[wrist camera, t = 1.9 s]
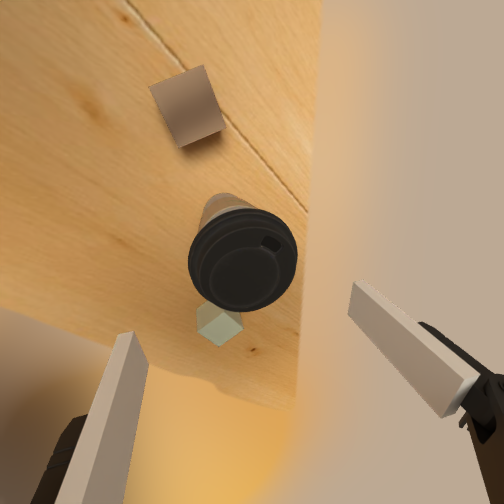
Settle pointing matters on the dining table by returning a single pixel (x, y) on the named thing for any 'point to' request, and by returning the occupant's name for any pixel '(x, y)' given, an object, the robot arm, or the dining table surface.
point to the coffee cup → (241, 255)
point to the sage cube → (217, 323)
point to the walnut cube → (188, 106)
